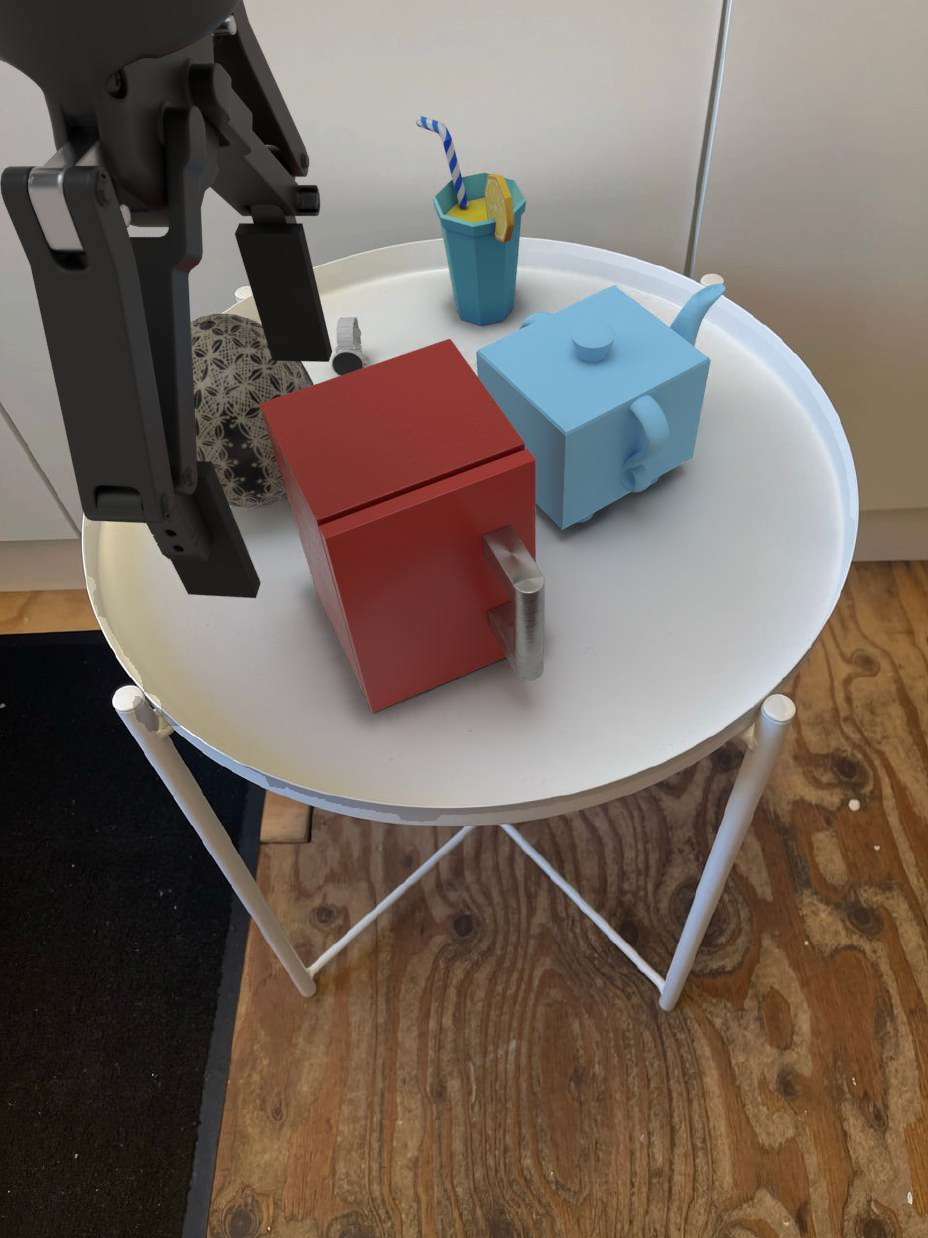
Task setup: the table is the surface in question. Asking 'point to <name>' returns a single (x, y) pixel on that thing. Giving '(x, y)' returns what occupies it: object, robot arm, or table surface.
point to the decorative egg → (239, 405)
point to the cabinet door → (442, 581)
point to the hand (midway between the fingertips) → (267, 462)
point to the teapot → (601, 396)
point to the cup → (479, 236)
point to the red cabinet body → (379, 445)
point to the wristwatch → (348, 347)
